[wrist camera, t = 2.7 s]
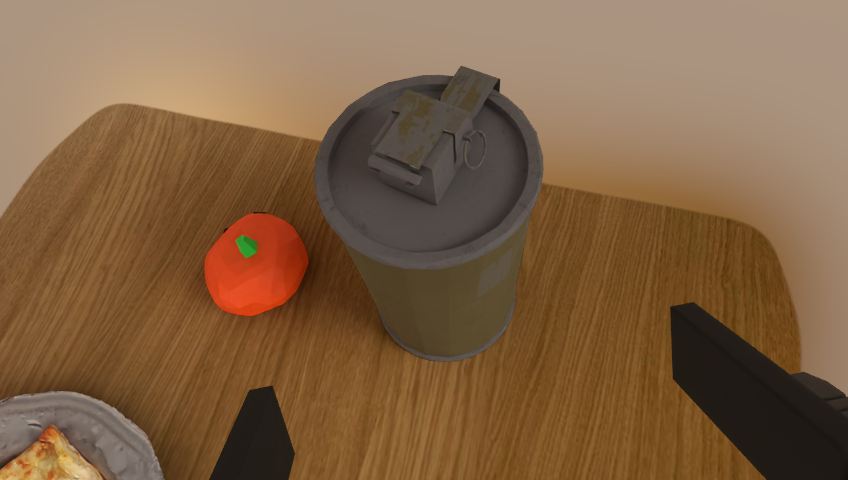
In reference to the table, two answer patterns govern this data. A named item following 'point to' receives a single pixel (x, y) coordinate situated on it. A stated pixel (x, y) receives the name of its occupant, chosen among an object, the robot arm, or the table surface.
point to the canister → (434, 206)
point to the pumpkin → (255, 265)
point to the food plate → (71, 440)
